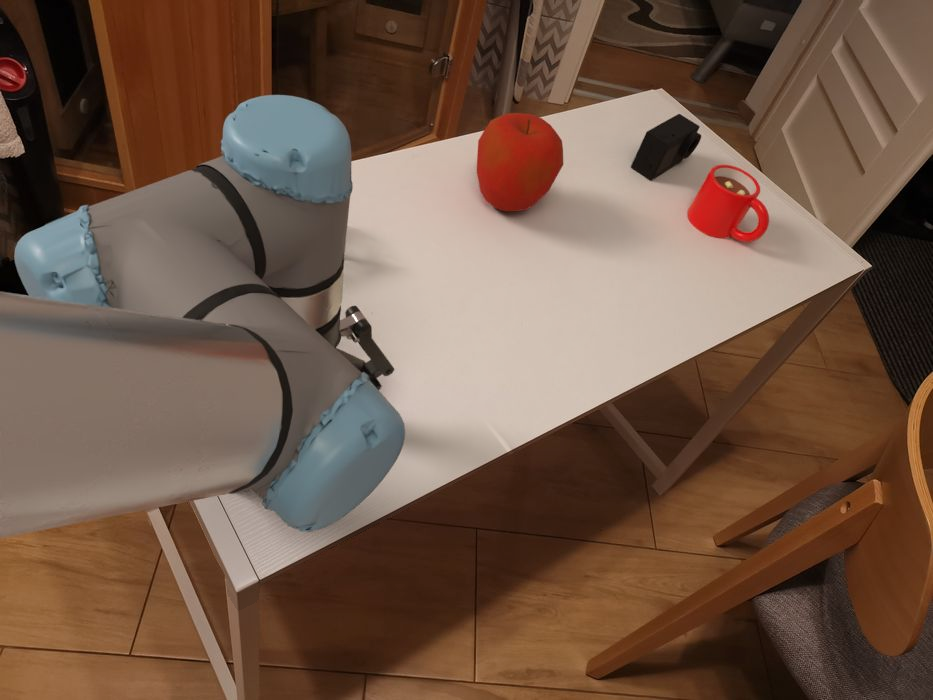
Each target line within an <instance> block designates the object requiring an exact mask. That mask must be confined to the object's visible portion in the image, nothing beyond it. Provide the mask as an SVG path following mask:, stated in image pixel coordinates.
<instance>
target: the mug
mask: <svg viewBox="0 0 933 700" xmlns="http://www.w3.org/2000/svg"><path fill="white" fill-rule="evenodd" d="M760 194H761V186H760V184H759V181H757V179H756V178H755V177H754V176H753V175H752V174H750V173H749V172H747V171H746V170H745V169H742V168H740V167H737V166H734V165H731V164H730V165H729V164H718V165H715V166H713V167H712V168H711V169H710V170H709V172H708V174H707V175H706V178H705V180H704V181H703V183H702V185H701V186H700V188H699V190H698V192H697V194H696V195H695V197H694V198H693V200H692V202H691V204H690V205H689V207H688V209H687V212H686V217H687V219H688V221H689V222H690V224H691V225H692V226H693V227H694V228H695V229H696V230H698V231H699V232H701V233H703V234H705V235H707V236H709V237H712V238H716V239H717V238H718V239H727V238H729V237H732V238H733V239H735V240H737V241H739V242H742V243H751V242H755V241H757V240H759V239H760V238H762V237H763V236H764V235H765V233H766V232H767V230H768V229H769V225H770V215H769V212H768V209H767V207H766V205H765V204H764V203H763V202H762V201H761V200H760V199H758V197H759V195H760ZM750 209H752V210H753V211H754V212H755V213H756V215H757V218H758V219H757V220H758V223H757V226H756V228H755V229H754V230H752V231H750V232H749V231H742V230H741V229H740V228H738V227H739V226H740V224H741V223H742V221H743V220H744V218H745V217H746V215H747V214H748V212H749V211H750Z"/></svg>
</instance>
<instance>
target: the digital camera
mask: <svg viewBox="0 0 933 700" xmlns="http://www.w3.org/2000/svg"><path fill="white" fill-rule="evenodd" d="M699 129H700V125H699V124H697V123H695V122H694V121H692V120H691V119H689V118H687V117H686V116H684V115H682V114H681V113H678V114H675V115H674V116H672V117H670V118H668V119H666V120H665V121H663V122H661V123H659V124H658V125H656V126H654V127H653V128H651V129H649V130H648V131H646V132H645V134H644V137H643V139H642V141H641V143H640V145H639V148H638V149H637V152H636V155H635V156H634V158H633V161H632V163H631V165H630V168H631V169H632V170H634V171H635V172H637V173H639V174H640V175H642V176H643V177H644V178H645V179H647V180H649V181H653V180H655V179H656V178H658V177H659V176H661V175H663V174H664V173H666V172H667V171H669V170H670V169H672V168H674V167H675V166H677V165H679V164H680V163H682V162H683V161H684V159H688V158H689V157H690V156H691V155H692V154H693V153H694V151H695V150H696V149H697V147H698V146H699V144H700V142H701V139H702V134H701V133H699V132H698V131H699Z"/></svg>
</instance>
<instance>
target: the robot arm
mask: <svg viewBox="0 0 933 700" xmlns="http://www.w3.org/2000/svg"><path fill="white" fill-rule="evenodd" d="M222 126H223V128H222V139H221V140H220V145H219V146H220V150H221V154H222V155H221V156H219V157H216V158H213V159H211V160H208V161H205V162H202V163H199V164H198V165H197V166H196V167H194V168H192V169H190V170H186V171H183V172H181V173H178V174H175V175H172V176H170V177H169V176H168V177H167V178H164V179H161V180H158V181H155V182H152V183H150V184H147V185H145V186H142V187H139V188H136V189H134V190H131V191H128V192H125V193H123V194H120V195H117V196H114V197H112V198H108V199H106V200H103V201H100V202H98V203H94V204H92V205H89V204H84V205H81V206H79V208H78V209H77V210H76V211H74V212H72V213H69V214H67V215H64V216H62V217H59V218H57V219H55V220H52V221H50V222H48V223H45V225H43V226H41V227H39V228H36V229H34V230H33V229H32V230H31V231H28V232H27V233H25V234H24V235H23V236H21V238H20V239H19V240H18V241H17V243H16V246H15V247H14V258H13V259H14V264H15V267H16V271H17V273H18V276H19V278H20V281H21V283H22V285H23V287H24V289H25V291H26V293H27V294H28V295H27V294H20V293H13V292H7V291H0V539H4V538H8V537H13V536H18V535H25V534H30V533H35V532H40V531H45V530H49V529H55V528H60V527H65V526H70V525H75V524H81V523H85V522H92V521H96V520H100V519H105V518H110V517H116V516H121V515H127V514H131V513H136V512H142V511H147V510H152V509H158V508H162V507H166V506H167V507H168V506H173V505H178V504H183V503H188V502H193V501H198V500H202V499H203V500H205V499H208V498H213V497H218V496H223V495H234V494H238V493H243V492H248V491H253V492H255V493H256V494H257V495H258V496H259V497H260V499H261V500H262V502H261V505H262V506H263V508H264V509H265V510H268V511H272V512H274V513H275V514H276V516H278V517H279V518H280V519H281V520H282V521H283V522H284V523H285V524H286V525H287V526H288V527H289V528H291V529H297V530H299V531H300V532H302V533H310V532H315V531H320V530H322V529H325V528H327V527H329V526H330V525H332V524H335V523H336V522H338V521H340V520H341V519H343V518H344V517H345V516H347V515H348V514H350V513H351V512H353V510H354V509H356V508H357V507H358V506H359V505H360V504H362V503H363V502H364V501H365V500H366V499H367V498H368V497H369V496H370V495H371V494H372V493H373V491H374V490H375V489H377V487H378V486H379V485H380V484H381V483H382V481H384V479H385V478H386V477H387V475H388V473H389V472H390V471H391V470H392V468H393V466H394V465H395V463H396V462H397V460H398V459H399V456H400V454H401V452H402V450H403V447H404V444H405V440H406V439H405V438H406V427H405V421H404V420H403V416H401V413H400V412H399V411H398V410H397V409H396V408H395V406H393V404H392V403H391V402H390V401H389V399H387V398H386V396H385V395H383V393H382V392H381V391H380V390H381V389H382V387H383V385H382V383H381V382H380V381H379V379H378V378H379V377H381V376H384V377H389V376H390V375H392V374H393V373H394V372H395V367H394V366H393V365H392V363H391V361H390V360H389V359H388V358H387V356H386V355H385V353H384V352H383V351H382V350H381V348H380V346H378V344H377V342H376V341H375V340H374V339H373V335H372V334H373V333H372V325H371V323H370V322H369V321H368V320H367V318H366V317H365V315H364V314H363V312H362V311H361V310H360V309H359V307H358V306H357V305H351V306H349V307H348V308H347V309H346V310H345V312H344V313H345V314H344V315H345V317H344V318H342V319H341V313H342V303H343V290H344V289H343V288H344V270H345V269H344V268H345V252H346V244H347V243H346V241H347V233H348V232H347V231H348V224H349V223H348V222H349V212H350V202H351V196H352V192H353V187H354V186H353V185H354V184H353V181H352V145H351V144H352V143H351V139H350V135H349V132H348V130H347V127H346V126H345V124H344V123H343V122H342V121H341V119H339V118H338V116H336V115H335V114H333V113H331V112H330V111H329V110H328V109H327V108H326V107H325V106H323V105H322V104H320V103H317V102H316V101H313V100H309V99H306V98H303V97H299V96H294V95H287V94H286V95H285V94H267V95H260V96H256V97H253V98H249V99H247V100H244V101H243V102H241V103H239V104H238V105H237V107H236V109H235V110H234V111H233V112H231V113H229V114H228V115H227V116H226V118H225V119H224V122H223V125H222ZM342 337H346V339H347V340H352V342H353V343H356V344H358V345H359V346H360V348H361V349H362V350H363V352H364V353H365V354H366V355H367V356H368V358H369V360H368V361H365V360H363V359H361V358H359V357H357V356H355V355H353V354H350V353H349V352H346V351H344V350H342V349H340V348H338V346H339V345H340V343H341V340H342Z"/></svg>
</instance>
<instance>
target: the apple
mask: <svg viewBox="0 0 933 700" xmlns="http://www.w3.org/2000/svg"><path fill="white" fill-rule="evenodd" d="M476 156H477V157H476V175H477V176H476V177H477V180H478V186H479V190H480V193H481V195H482V197H483V199H484V200H485V201H486V202H487V203H488V204H489V205H490V206H492V207H493V208H495V209H497V210H499V211H502V212H518V211H526V210H528V209H530V208H532V207H534V206H535V205H536V204H537V203H538V202H539V201H540V200H541V199H542V198H543V197H544V196H545V195H547V193H548V192H550V190H551V188H552V187H553V185H554V183H555V181H556V178H557V177H558V176H559V174H560V172H561V170H562V168H563V166H564V146H563V140H562V138H561V137H560V135H559V134H558V133H557V131H556V130H555V129H554V127H553V126H552V125H551V124H550V123H548V121H546V120H545V119H543V118H542V117H539V116H537V115H534V114H530V113H525V112H524V113H523V112H508V113H504V114H501V115H499V116H496V117H495V118H492V119H491V120H490V121H489V122H488V124H487V126H486V127H485V128H484V130H483V132H482V134H481V135H480V137H479V138H478V141H477V155H476Z"/></svg>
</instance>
